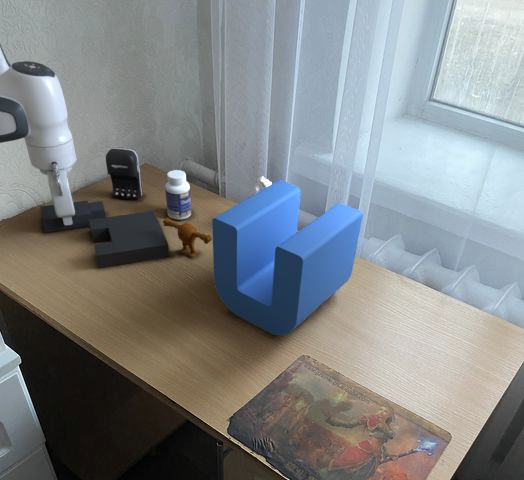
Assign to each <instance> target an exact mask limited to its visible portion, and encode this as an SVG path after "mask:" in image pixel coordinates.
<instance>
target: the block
mask: <svg viewBox="0 0 524 480" xmlns="http://www.w3.org/2000/svg"><path fill="white" fill-rule="evenodd" d="M301 193H302V190H301V188H300V187H299V186H297V185H294V184H292V183H289V182H286V181H284V180H281V179H279V180H276V181H275V182H273V183H272V184H271V185H270V186H268V187H266V188H264V189H263V190H261V191H259V192H258V193H256V194H254V195H253V194H252V195H250V196H249V197H247V198H245V199H244V200H242V201H240V202H239V203H237V204H235V205H234V206H232V207H230V208H229V209H227V210H225V211H223V212H222V213H220V214H219V215H217V216H215V217H213V218H212V221H211V223H212V224H211V226H212V257H213V259H212V260H213V261H212V262H213V282H214V287H215V289H216V292H217V294H218V296H219V298H220V300H221V302H222V303H223V304H224V306H225V307H226V308H227V309H228V310H230V312H232V313H233V315H236V316H238V317H239V318H241V319H243V320H245V321H246V322H249V323H251V324H252V325H254V326H256V327H258V328H260V329H262V330H264V331H265V332H267V333H269V334H271V335H276V336H286V335H288V334H290V333H291V332H292V331H294V330H295V329H296V328H297V327H298V326H300V324H302V323H303V321H304V320H306V319H307V318H308V317H309V316H310V315H312V313H314V312H315V311H316V310H317V309H318V308H319V307H320V306H321V305H323V304H324V303H325V302H326V301H327V300H328V299H329V298H331V297H332V295H334V294H335V293H336V292H338V291H339V290H340V288H341V287H343V286H344V285H345V284H346V283H347V282H348V281H349V280H350V278H351V276H352V274H353V268H354V264H355V259H356V253H357V248H358V242H359V235H360V232H361V227H362V222H363V217H364V216H363V215H364V214H363V212H362V211H361V210H359V209H357V208H354V207H352V206H349V205H346V204H344V203H341V202H338V203H336V204H335V205H333V206H332V207H331V208H329V209H328V210H326V211H324V213H322V214H321V215H320V216H318V217H317V218H315V219H314V220H312V221H311V222H310V223H308V224H307V225H305V226H304V227H303V228H301V229H300V230H298V226H299V225H298V224H299V216H300V215H299V214H300V206H301V205H300V204H301V195H302V194H301Z"/></svg>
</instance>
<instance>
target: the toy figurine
mask: <svg viewBox="0 0 524 480" xmlns="http://www.w3.org/2000/svg"><path fill="white" fill-rule="evenodd" d="M162 223H163V226H164V227H171V228H175V229H176V230H177V237H178V239H179V240H180V241H181V243H182V244H181V245H182V249H180V254H182V255H186V254H187V255H188V257H189V258H194V257H197V256H198V252H197V249H196V248H195V242H196V239H197V238H199V239H200V240H201V241H203V243H204V244H205V245H208V244H209V243H210V242H211V241H213V236H212V235H210V234H206V233H201V232H199V231H197V228H196V226H194V224H191V223H189V222H184V223H181V224H180V223H178V222H175V221H174V220H172V218H170V217H165V218H164V219H163V220H162Z"/></svg>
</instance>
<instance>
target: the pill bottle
mask: <svg viewBox="0 0 524 480" xmlns="http://www.w3.org/2000/svg"><path fill="white" fill-rule="evenodd" d="M166 178H167V181H166V183H165V186H164V191H165V201H166V212H167V216H168V218H170V219H171V220H172V219H173V220H176V221H177V220H178V221H180V220H181V221H183V220H186V219H188V218H190V216H191V215H192V205H191V204H192V203H191V202H192V201H191V186H190V183H189V181H187V174H186V172H185V171H184V170H180V169H174V170H170V171H169V172H167V174H166Z"/></svg>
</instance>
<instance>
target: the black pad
mask: <svg viewBox="0 0 524 480" xmlns="http://www.w3.org/2000/svg"><path fill="white" fill-rule="evenodd" d="M88 221H89V225H90V226H89V230H90V234H91V238H92V242H93V243H95V244H94V250H95V254H96V259H97V262H98V266H99V269H103V268H109V267H114V266H122V265H129V264H135V263H141V262H145V261H152V260H158V259H165V258H169V257H170V248H169V242H168V240H167V238H166V236H165V233H164V231H163V228H162V227H161V224H160V222H159V220H158V217H157V215H156V212H155V210H150V211H143V212H135V213H129V214H120V215H114V216H113V215H112V216H106V217H105V218H98V219H91V220H88ZM104 241H107V242H104ZM97 242H100V243H97Z"/></svg>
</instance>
